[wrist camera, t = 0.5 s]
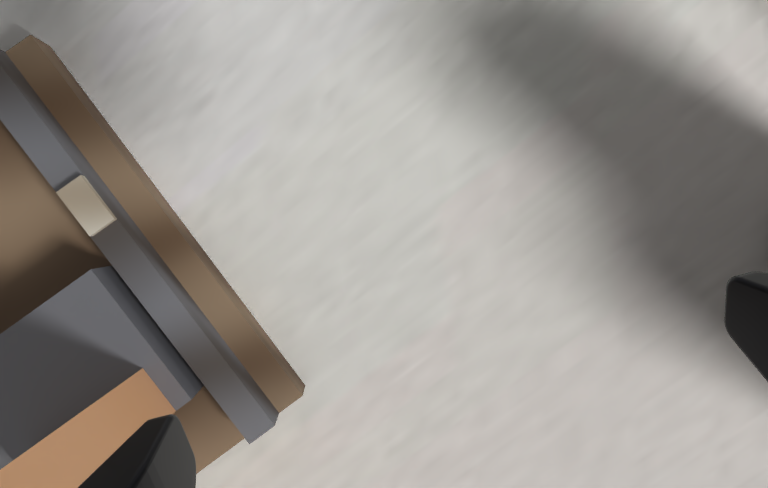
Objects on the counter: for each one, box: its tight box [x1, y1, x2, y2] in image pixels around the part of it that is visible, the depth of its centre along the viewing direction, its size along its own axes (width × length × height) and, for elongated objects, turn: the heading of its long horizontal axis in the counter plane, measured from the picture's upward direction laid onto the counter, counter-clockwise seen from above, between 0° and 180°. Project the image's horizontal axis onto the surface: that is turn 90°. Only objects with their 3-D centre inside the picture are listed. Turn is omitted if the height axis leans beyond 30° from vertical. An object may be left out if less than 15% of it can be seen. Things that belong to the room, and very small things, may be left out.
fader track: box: [0, 35, 305, 474], centre depth 23 cm, size 18×12×3 cm, turn 36°
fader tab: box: [0, 266, 204, 488], centre depth 17 cm, size 6×6×11 cm
